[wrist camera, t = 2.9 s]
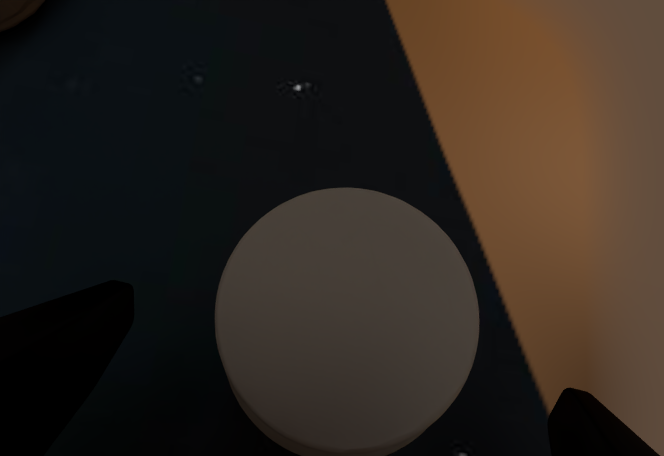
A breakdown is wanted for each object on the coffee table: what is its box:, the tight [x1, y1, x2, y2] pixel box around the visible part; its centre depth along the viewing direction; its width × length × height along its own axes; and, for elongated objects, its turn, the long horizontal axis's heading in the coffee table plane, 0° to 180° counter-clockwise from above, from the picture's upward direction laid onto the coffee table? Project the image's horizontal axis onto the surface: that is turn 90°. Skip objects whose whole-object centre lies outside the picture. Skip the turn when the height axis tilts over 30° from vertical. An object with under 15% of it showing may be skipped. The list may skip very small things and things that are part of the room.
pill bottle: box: [215, 188, 479, 456], centre depth 12 cm, size 6×6×10 cm
